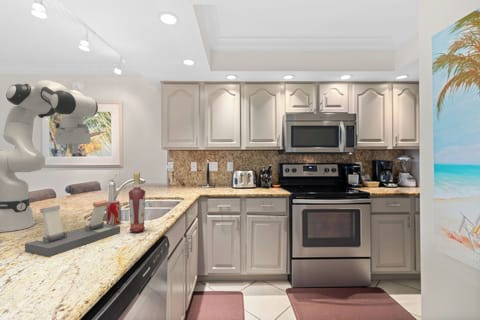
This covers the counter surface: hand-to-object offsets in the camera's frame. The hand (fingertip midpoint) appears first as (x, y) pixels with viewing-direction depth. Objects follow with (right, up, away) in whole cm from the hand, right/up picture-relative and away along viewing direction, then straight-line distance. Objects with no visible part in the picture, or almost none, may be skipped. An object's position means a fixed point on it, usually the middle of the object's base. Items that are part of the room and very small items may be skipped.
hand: (72, 153), depth 122 cm
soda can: (+13, -37, +12) cm, 41 cm away
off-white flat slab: (+15, -34, -8) cm, 38 cm away
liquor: (+32, -37, -2) cm, 49 cm away
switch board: (+12, -37, -15) cm, 42 cm away
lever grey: (+9, -34, -24) cm, 42 cm away
